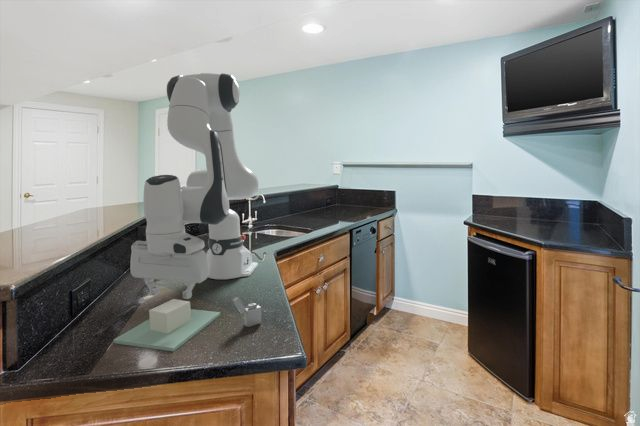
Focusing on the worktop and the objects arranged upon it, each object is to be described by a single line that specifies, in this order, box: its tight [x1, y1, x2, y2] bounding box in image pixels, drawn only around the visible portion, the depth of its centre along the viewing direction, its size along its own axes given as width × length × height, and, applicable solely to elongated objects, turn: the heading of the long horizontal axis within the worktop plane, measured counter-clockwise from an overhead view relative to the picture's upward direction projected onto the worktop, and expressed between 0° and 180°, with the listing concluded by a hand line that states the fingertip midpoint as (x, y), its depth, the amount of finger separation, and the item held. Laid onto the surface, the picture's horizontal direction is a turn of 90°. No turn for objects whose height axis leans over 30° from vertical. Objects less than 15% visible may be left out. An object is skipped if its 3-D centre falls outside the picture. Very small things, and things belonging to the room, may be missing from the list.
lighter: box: [232, 296, 262, 328], centre depth 92 cm, size 7×2×8 cm, turn 127°
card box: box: [148, 298, 191, 333], centre depth 91 cm, size 6×8×5 cm
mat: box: [113, 308, 221, 353], centre depth 91 cm, size 20×16×1 cm
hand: (170, 296), depth 91 cm, fingers open, 8 cm apart
